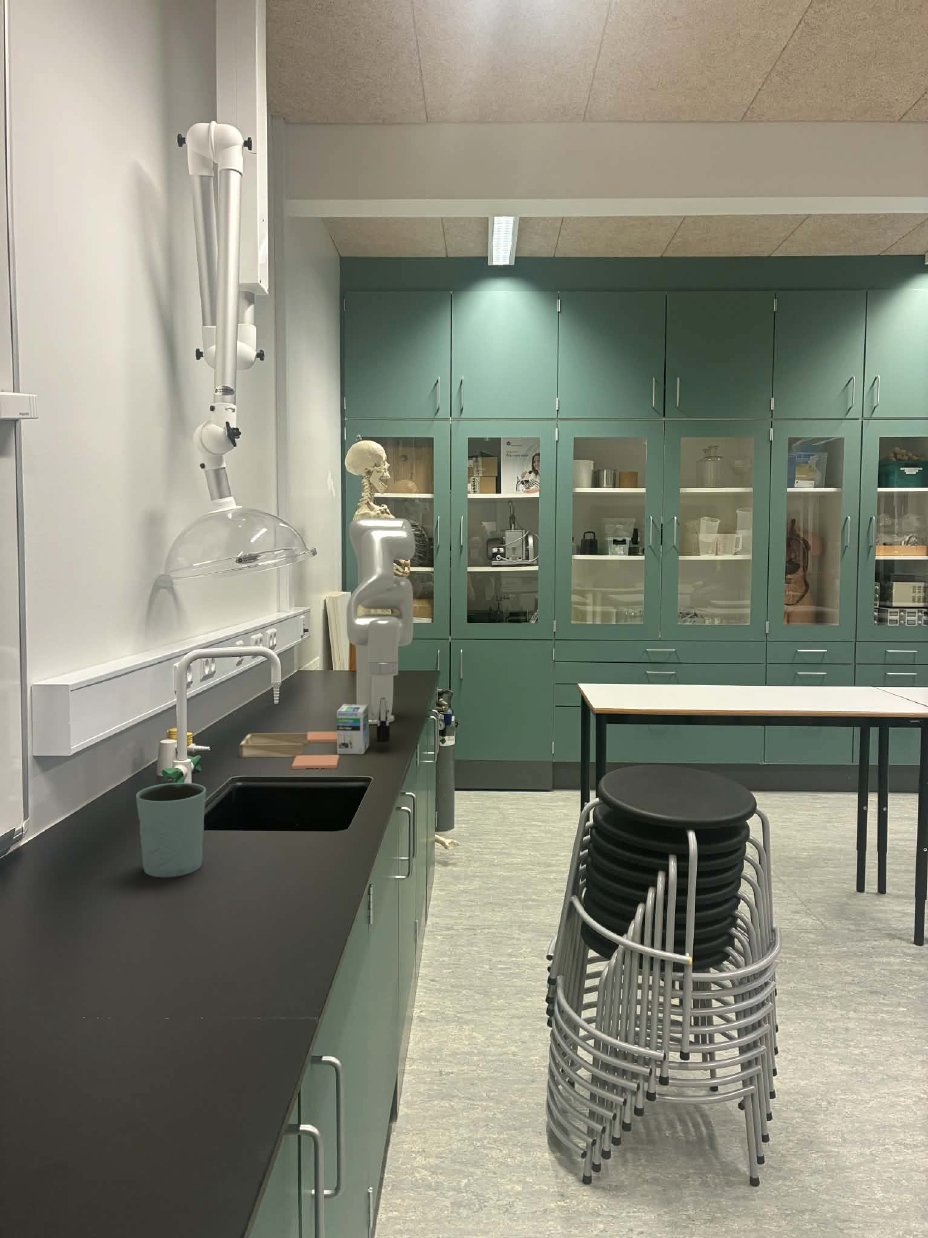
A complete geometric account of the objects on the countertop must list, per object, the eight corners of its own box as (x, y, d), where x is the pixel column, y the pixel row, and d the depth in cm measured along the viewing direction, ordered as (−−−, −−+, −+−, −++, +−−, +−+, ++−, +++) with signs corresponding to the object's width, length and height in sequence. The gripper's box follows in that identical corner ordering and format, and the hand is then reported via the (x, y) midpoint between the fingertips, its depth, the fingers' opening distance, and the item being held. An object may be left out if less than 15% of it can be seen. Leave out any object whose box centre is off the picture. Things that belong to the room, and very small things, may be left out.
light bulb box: (363, 755, 207) (363, 711, 206) (336, 754, 207) (336, 711, 206) (369, 745, 217) (369, 703, 217) (343, 745, 217) (343, 703, 217)
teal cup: (204, 853, 137) (203, 780, 136) (209, 875, 128) (208, 796, 127) (137, 861, 133) (135, 786, 133) (137, 883, 124) (135, 803, 123)
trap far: (308, 734, 230) (308, 731, 230) (345, 734, 231) (345, 731, 231) (304, 742, 220) (304, 739, 220) (343, 742, 221) (343, 739, 221)
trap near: (296, 758, 202) (296, 755, 202) (338, 758, 203) (338, 755, 203) (291, 769, 192) (291, 765, 192) (336, 768, 193) (336, 765, 193)
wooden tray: (248, 745, 217) (248, 733, 216) (307, 744, 218) (307, 733, 218) (239, 757, 203) (239, 745, 203) (301, 756, 204) (301, 744, 204)
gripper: (368, 665, 218) (368, 735, 220) (367, 672, 203) (367, 748, 205) (397, 664, 219) (397, 735, 220) (398, 672, 204) (398, 747, 205)
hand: (383, 741), depth 213 cm, fingers closed
